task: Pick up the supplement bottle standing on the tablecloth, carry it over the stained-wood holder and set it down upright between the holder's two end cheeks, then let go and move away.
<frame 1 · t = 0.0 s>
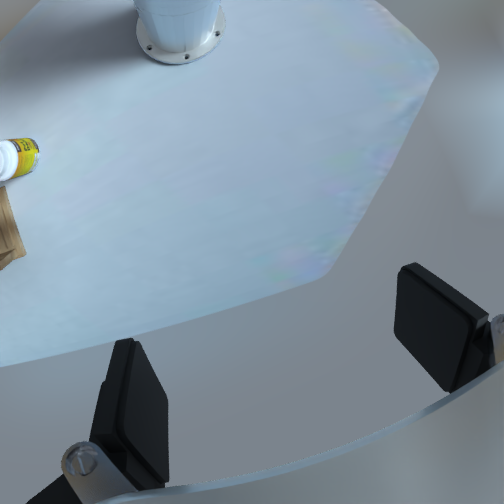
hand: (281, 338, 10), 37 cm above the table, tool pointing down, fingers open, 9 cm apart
supplement bottle: (28, 155, 37), on the table
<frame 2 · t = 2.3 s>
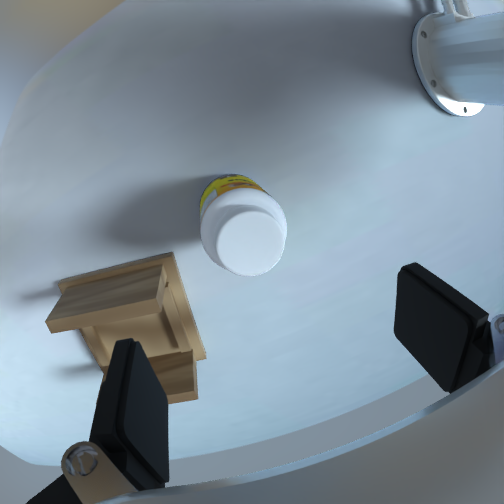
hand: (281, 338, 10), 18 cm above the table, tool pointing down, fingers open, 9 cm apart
holder: (133, 319, 29), on the table
supplement bottle: (231, 203, 27), on the table
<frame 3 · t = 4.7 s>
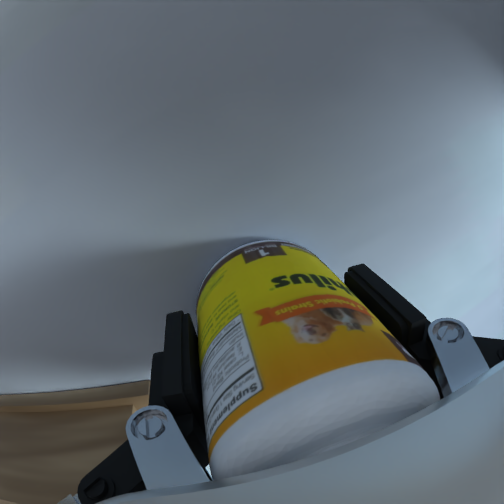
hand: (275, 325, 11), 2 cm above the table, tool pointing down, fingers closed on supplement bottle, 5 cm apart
holder: (102, 453, 15), on the table
supplement bottle: (262, 296, 13), on the table, touching gripper
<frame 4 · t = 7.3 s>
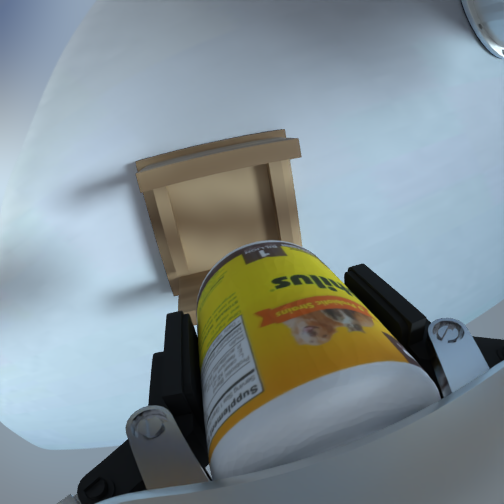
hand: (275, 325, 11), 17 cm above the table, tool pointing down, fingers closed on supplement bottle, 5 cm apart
holder: (224, 212, 26), on the table
supplement bottle: (262, 296, 13), point 14 cm above the table, touching gripper
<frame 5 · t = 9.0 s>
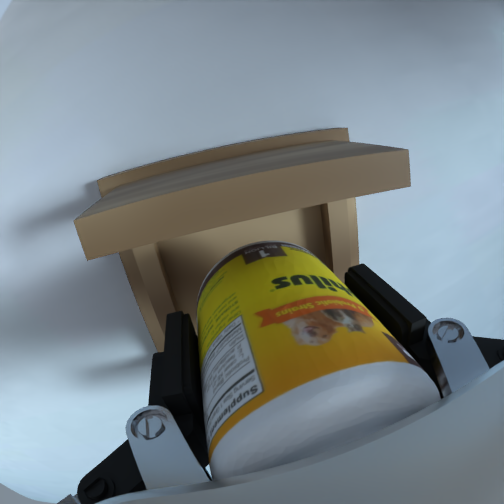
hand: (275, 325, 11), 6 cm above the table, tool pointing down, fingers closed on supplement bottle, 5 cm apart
holder: (246, 260, 17), on the table
supplement bottle: (262, 296, 13), point 4 cm above the table, touching gripper
when the fingers open (5 cm above the table, at t = 10.1 s): supplement bottle drops 2 cm, resting on holder.
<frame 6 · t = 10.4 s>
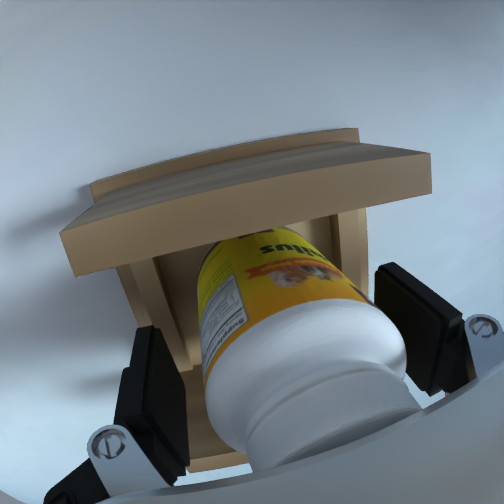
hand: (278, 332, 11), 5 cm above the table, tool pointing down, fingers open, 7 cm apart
holder: (249, 269, 16), on the table
supplement bottle: (255, 274, 15), point 1 cm above the table, touching holder
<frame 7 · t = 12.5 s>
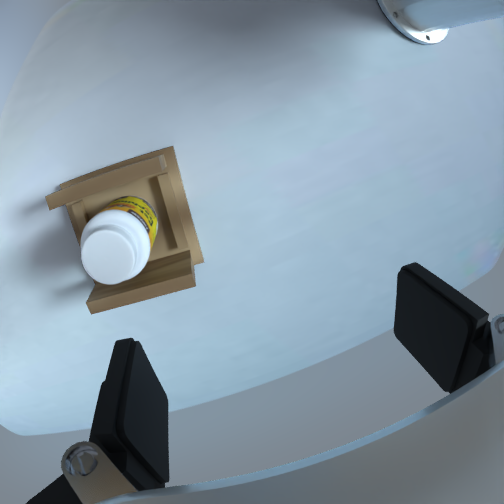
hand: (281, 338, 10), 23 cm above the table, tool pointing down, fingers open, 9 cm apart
holder: (131, 220, 30), on the table
supplement bottle: (131, 221, 29), point 1 cm above the table, touching holder
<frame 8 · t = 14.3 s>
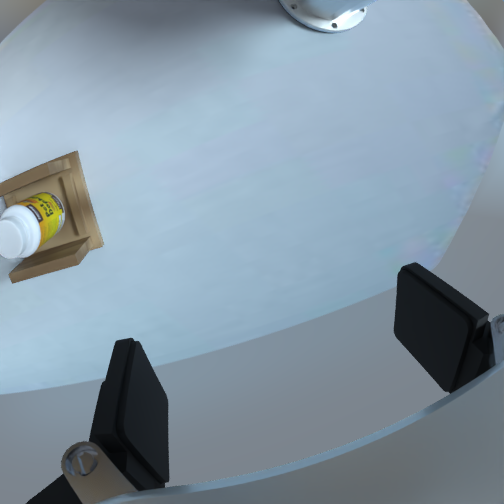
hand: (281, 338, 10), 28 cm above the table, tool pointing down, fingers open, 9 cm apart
holder: (50, 211, 33), on the table
supplement bottle: (48, 212, 32), point 1 cm above the table, touching holder
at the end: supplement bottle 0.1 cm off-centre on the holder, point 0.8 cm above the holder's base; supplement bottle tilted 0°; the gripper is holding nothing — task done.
